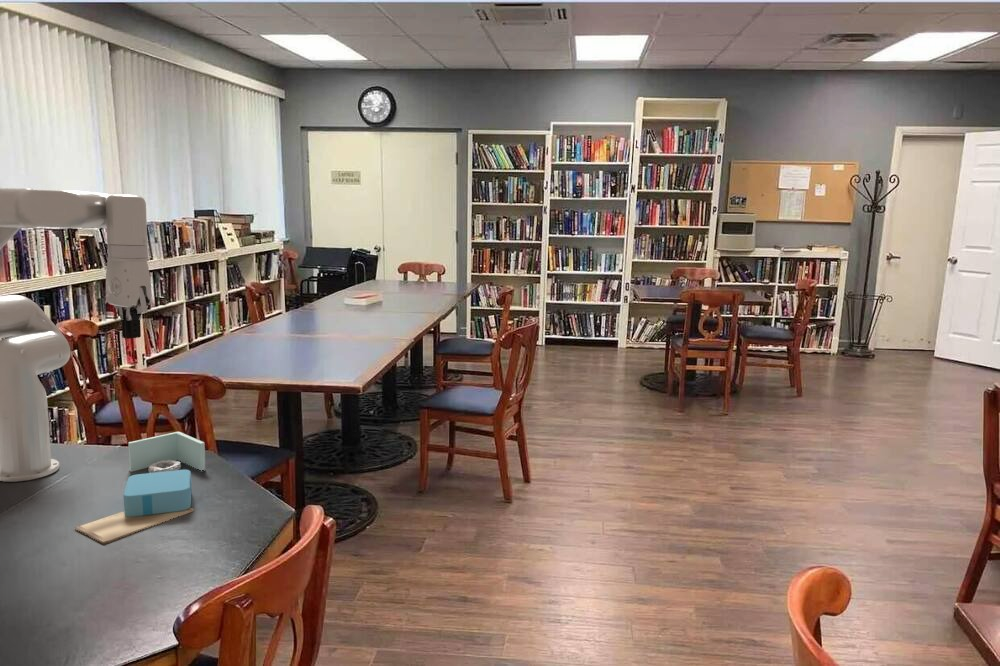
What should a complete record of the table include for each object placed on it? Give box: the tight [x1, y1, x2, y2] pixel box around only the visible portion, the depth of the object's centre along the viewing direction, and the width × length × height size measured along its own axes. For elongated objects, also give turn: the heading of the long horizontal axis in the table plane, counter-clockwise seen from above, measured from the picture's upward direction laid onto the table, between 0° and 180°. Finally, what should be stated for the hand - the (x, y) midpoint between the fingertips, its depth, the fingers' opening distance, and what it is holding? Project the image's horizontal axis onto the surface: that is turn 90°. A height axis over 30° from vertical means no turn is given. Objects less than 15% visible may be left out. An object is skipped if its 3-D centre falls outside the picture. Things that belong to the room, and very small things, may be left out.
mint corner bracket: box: [127, 431, 206, 473], centre depth 157 cm, size 12×12×8 cm
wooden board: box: [74, 507, 194, 545], centre depth 131 cm, size 10×18×1 cm, turn 148°
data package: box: [122, 469, 192, 517], centre depth 138 cm, size 12×4×12 cm
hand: (131, 337), depth 145 cm, fingers closed
